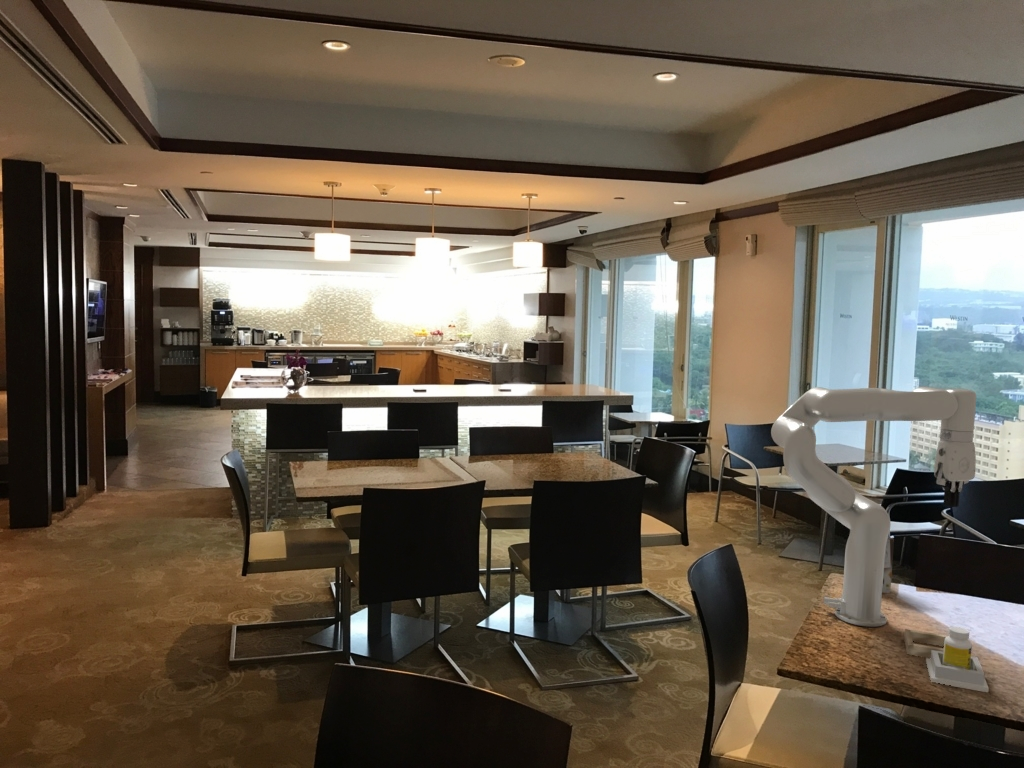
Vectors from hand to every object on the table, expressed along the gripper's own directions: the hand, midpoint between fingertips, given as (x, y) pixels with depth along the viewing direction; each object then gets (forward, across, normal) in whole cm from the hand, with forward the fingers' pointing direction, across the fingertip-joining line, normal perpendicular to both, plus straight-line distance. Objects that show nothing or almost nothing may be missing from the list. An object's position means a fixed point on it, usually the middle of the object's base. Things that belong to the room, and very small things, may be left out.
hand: (950, 505), depth 210 cm
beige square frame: (+31, -20, -13) cm, 39 cm away
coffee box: (+31, +3, +26) cm, 40 cm away
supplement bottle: (+30, -26, -25) cm, 47 cm away
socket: (+31, -26, -25) cm, 48 cm away
